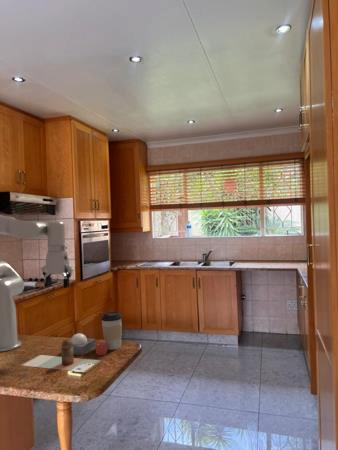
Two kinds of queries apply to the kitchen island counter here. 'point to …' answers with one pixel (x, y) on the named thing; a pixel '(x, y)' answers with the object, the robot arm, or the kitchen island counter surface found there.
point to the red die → (101, 348)
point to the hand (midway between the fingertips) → (57, 286)
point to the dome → (79, 339)
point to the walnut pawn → (67, 353)
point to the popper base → (84, 347)
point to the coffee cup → (112, 329)
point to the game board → (58, 362)
